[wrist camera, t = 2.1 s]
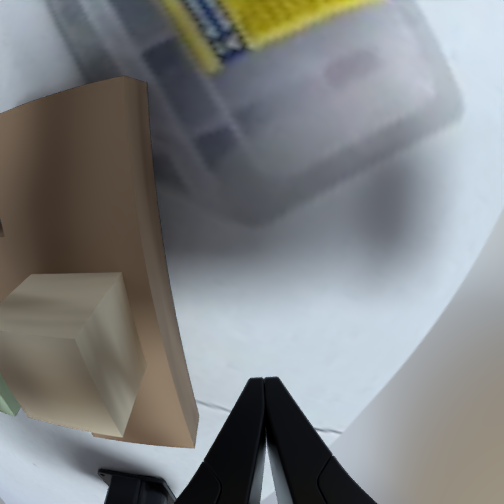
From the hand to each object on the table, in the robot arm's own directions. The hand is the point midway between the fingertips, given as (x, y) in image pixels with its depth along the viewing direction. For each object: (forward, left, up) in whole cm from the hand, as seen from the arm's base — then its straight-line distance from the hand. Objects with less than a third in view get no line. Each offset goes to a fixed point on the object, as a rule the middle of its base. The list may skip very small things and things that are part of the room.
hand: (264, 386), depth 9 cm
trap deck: (0, +14, -6) cm, 15 cm away
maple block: (0, +7, -3) cm, 8 cm away
